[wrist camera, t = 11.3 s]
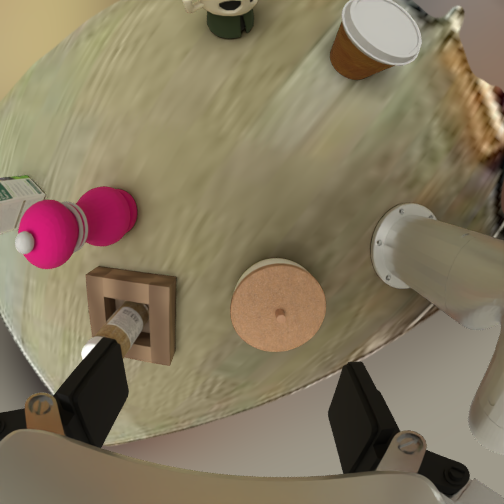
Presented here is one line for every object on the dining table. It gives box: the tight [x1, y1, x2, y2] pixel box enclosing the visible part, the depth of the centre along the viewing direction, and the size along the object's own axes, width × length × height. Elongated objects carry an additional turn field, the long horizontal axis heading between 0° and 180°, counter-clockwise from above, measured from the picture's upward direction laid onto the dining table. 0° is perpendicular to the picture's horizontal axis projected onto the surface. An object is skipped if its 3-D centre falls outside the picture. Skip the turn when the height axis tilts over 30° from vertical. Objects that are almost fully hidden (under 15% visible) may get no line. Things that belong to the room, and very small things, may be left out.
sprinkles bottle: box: [82, 301, 149, 359], centre depth 32 cm, size 5×5×14 cm
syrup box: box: [0, 175, 46, 234], centre depth 27 cm, size 6×6×14 cm
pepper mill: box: [15, 186, 137, 269], centre depth 26 cm, size 7×7×20 cm
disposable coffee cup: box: [330, 0, 422, 80], centre depth 25 cm, size 10×10×12 cm
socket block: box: [86, 266, 176, 366], centre depth 37 cm, size 12×12×4 cm
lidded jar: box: [230, 258, 326, 352], centre depth 34 cm, size 11×11×9 cm
